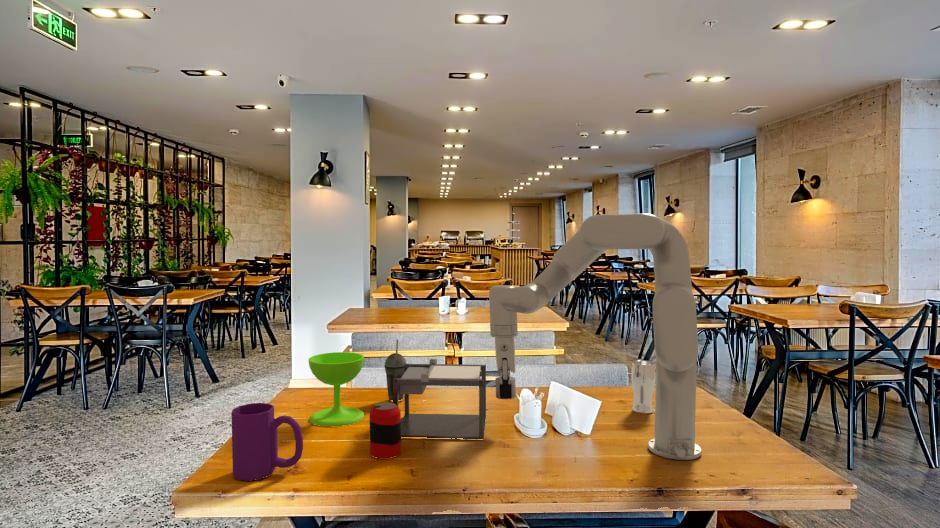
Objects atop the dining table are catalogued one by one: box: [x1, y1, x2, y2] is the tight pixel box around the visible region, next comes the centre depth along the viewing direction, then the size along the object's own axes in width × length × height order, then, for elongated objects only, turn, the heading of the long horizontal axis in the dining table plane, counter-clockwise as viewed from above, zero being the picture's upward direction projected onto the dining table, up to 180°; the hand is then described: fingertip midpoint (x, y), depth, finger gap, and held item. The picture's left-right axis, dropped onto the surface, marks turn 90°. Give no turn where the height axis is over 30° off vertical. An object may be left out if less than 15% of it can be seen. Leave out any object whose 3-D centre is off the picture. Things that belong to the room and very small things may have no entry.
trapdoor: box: [400, 364, 481, 395], centre depth 155 cm, size 15×21×5 cm
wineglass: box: [308, 351, 365, 427], centre depth 165 cm, size 16×16×18 cm
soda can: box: [369, 402, 402, 458], centre depth 138 cm, size 8×8×12 cm
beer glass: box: [630, 359, 656, 415], centre depth 171 cm, size 7×7×15 cm
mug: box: [231, 402, 304, 482], centre depth 126 cm, size 9×16×15 cm, turn 94°
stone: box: [494, 376, 517, 400], centre depth 154 cm, size 6×6×5 cm
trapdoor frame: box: [392, 358, 487, 440], centre depth 156 cm, size 18×24×18 cm
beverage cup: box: [383, 339, 407, 401], centre depth 182 cm, size 7×7×20 cm
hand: (505, 394), depth 154 cm, fingers closed on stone, 5 cm apart
